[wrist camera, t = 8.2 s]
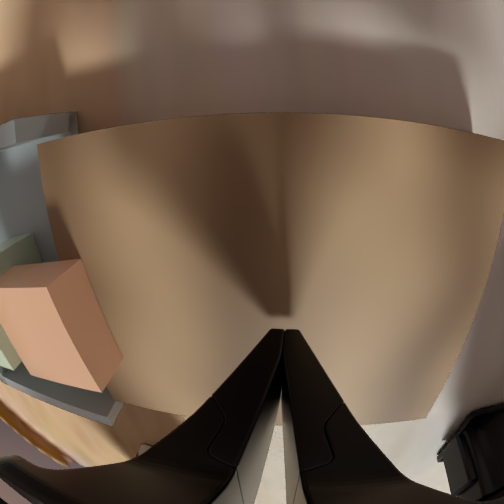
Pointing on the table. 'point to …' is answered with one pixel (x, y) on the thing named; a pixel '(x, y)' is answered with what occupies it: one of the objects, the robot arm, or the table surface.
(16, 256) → the sage tile
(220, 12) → the table surface
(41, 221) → the tray
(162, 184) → the walnut board
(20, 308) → the terracotta tile
